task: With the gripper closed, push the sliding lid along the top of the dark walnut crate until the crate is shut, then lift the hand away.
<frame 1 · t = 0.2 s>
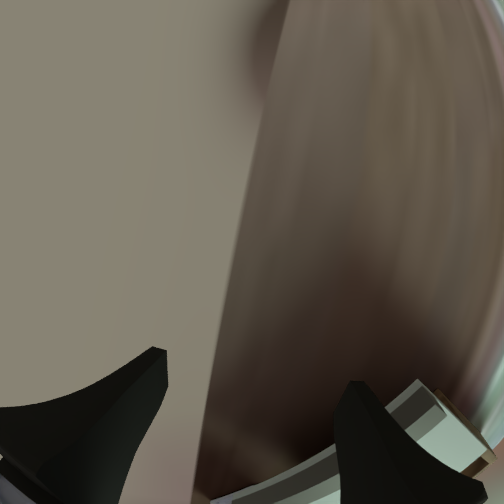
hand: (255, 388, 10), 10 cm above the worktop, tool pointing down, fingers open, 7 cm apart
lid: (380, 495, 14), point 8 cm above the worktop, slide at 10.0 cm
crate: (407, 462, 22), on the worktop
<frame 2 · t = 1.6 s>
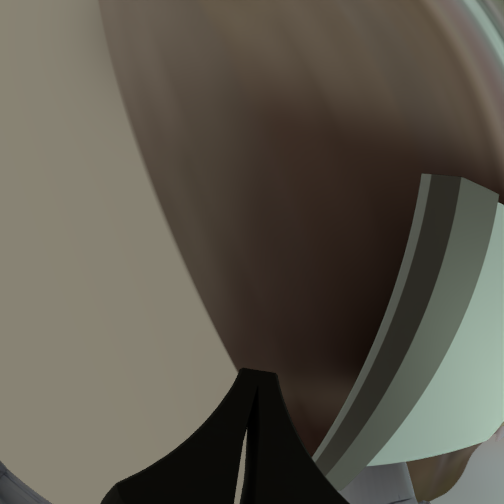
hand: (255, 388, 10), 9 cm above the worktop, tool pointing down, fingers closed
lid: (492, 378, 10), point 8 cm above the worktop, slide at 10.0 cm
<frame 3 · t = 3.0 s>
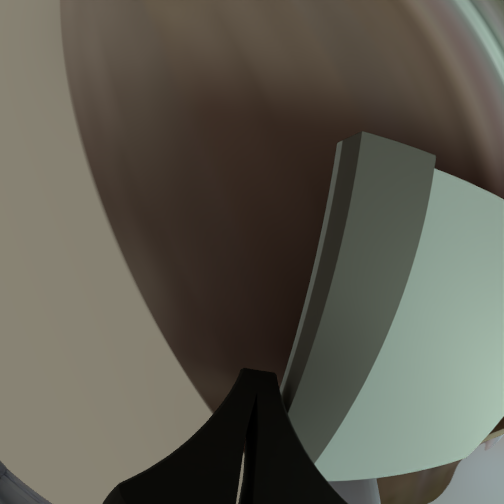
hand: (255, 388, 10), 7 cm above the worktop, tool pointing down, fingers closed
lid: (460, 397, 9), point 8 cm above the worktop, slide at 9.9 cm, touching gripper
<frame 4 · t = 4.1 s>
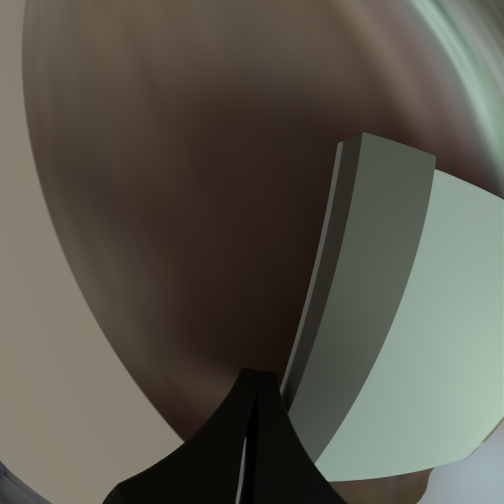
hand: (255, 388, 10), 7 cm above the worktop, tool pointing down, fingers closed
lid: (460, 397, 9), point 8 cm above the worktop, slide at 3.5 cm, touching gripper
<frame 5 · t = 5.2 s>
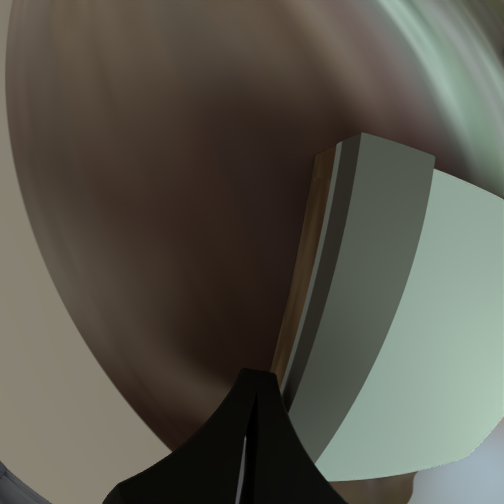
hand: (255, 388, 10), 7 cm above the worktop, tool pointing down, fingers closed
lid: (460, 397, 9), point 8 cm above the worktop, slide at 0.1 cm, touching gripper
crate: (411, 322, 16), on the worktop
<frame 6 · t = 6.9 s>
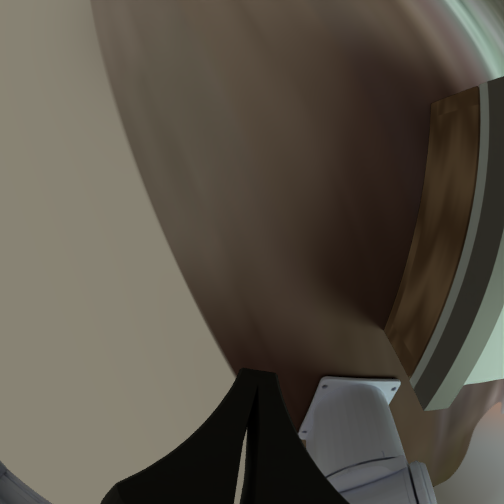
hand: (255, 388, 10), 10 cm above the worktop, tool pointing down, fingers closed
crate: (492, 242, 16), on the worktop
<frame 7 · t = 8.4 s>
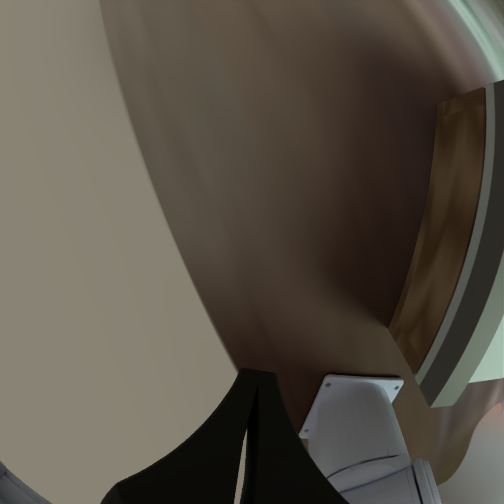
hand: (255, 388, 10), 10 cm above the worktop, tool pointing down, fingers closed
crate: (496, 242, 16), on the worktop
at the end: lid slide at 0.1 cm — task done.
